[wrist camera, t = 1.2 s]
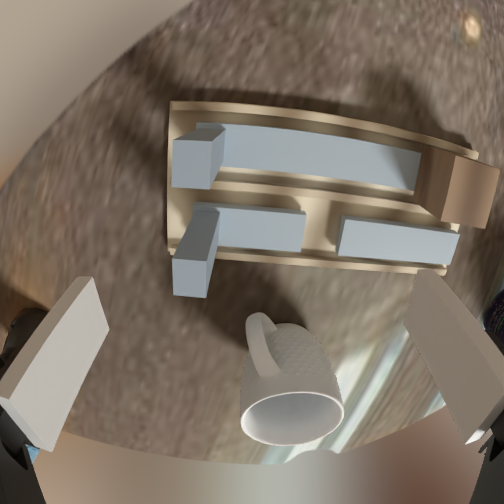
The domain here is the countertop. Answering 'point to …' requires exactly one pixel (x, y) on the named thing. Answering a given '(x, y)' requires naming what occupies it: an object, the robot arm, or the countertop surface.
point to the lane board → (302, 186)
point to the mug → (287, 385)
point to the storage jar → (496, 316)
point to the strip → (287, 155)
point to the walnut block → (455, 187)
